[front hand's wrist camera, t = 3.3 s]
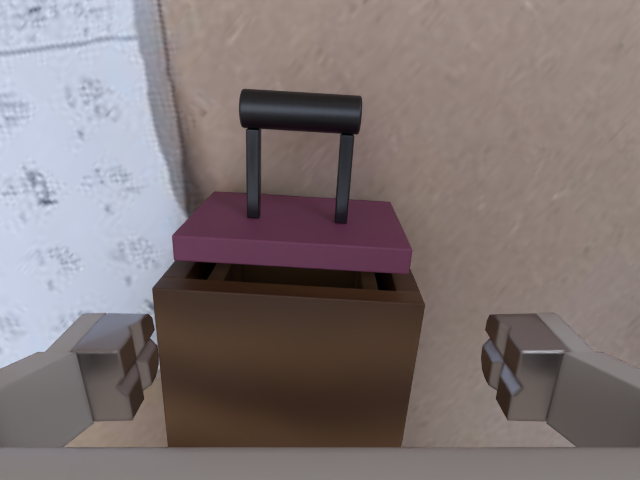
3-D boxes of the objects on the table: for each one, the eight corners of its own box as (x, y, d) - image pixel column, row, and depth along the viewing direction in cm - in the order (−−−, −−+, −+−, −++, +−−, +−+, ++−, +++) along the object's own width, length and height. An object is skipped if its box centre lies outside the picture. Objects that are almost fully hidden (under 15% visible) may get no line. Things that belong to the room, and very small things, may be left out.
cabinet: (209, 217, 26) (151, 287, 18) (394, 228, 26) (425, 304, 18) (219, 463, 34) (182, 596, 25) (363, 472, 34) (374, 607, 25)
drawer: (209, 83, 22) (159, 87, 16) (403, 94, 22) (434, 104, 16) (223, 442, 31) (194, 540, 25) (360, 450, 31) (368, 550, 25)
